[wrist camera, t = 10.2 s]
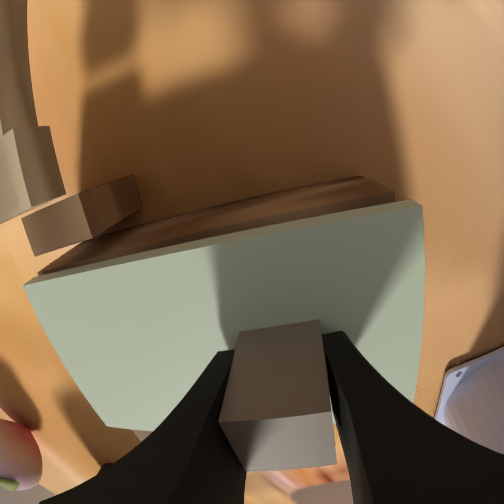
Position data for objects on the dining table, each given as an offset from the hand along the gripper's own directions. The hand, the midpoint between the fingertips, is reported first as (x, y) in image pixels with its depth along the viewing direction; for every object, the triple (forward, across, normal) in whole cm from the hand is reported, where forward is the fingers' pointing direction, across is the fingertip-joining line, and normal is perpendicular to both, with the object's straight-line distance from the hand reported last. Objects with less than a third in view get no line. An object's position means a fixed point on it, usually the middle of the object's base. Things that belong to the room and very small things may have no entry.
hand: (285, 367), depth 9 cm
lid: (+2, +2, 0) cm, 3 cm away
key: (+1, +7, -12) cm, 14 cm away
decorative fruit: (+6, +31, +13) cm, 34 cm away
